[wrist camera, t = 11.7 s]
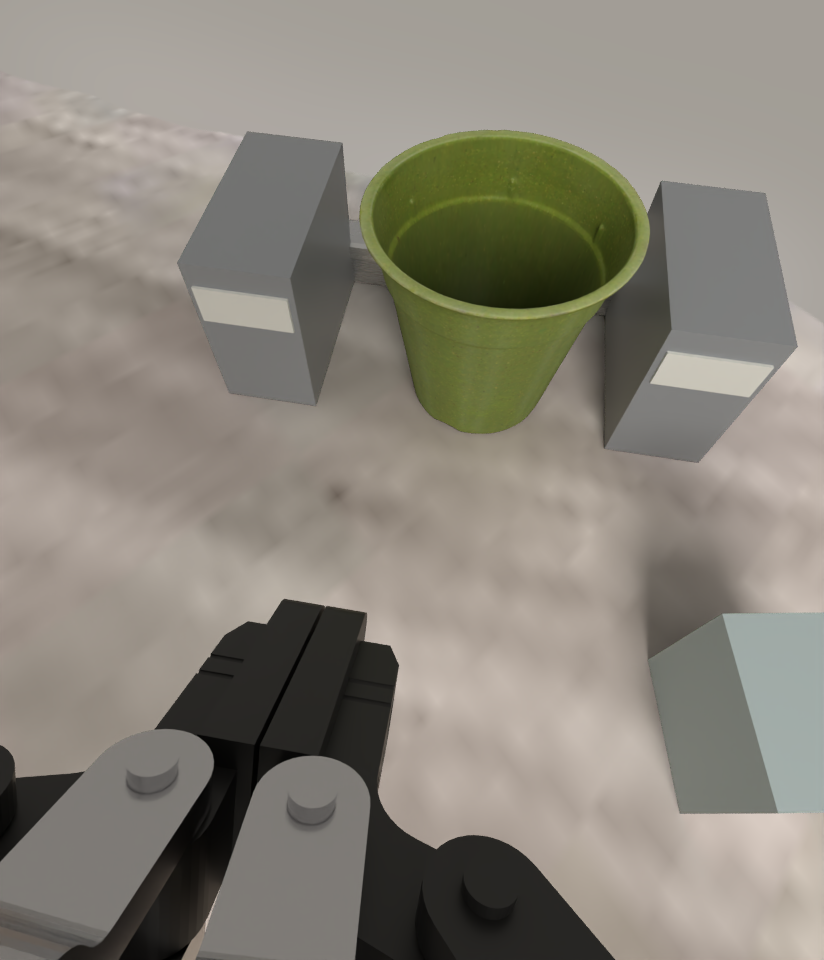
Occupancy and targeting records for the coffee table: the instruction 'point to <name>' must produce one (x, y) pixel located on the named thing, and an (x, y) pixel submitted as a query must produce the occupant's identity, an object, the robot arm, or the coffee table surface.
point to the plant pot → (498, 263)
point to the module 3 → (745, 714)
